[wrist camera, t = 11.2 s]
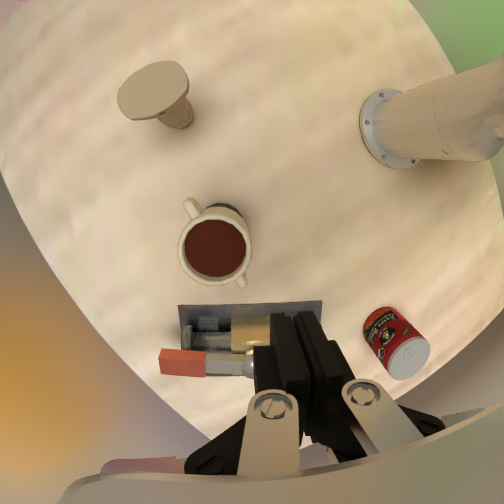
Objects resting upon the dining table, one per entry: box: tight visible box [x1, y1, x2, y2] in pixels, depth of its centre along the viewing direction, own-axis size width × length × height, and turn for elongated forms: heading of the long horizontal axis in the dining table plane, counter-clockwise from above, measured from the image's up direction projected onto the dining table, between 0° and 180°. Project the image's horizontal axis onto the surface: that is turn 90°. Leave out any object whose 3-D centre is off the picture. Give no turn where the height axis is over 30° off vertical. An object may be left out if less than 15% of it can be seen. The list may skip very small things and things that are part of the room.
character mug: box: [178, 198, 252, 288], centre depth 32 cm, size 11×7×13 cm, turn 32°
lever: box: [158, 348, 254, 379], centre depth 35 cm, size 14×4×2 cm, turn 87°
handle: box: [117, 61, 194, 128], centre depth 27 cm, size 5×6×15 cm
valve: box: [178, 301, 323, 376], centre depth 41 cm, size 22×14×7 cm, turn 90°
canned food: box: [364, 308, 430, 380], centre depth 40 cm, size 8×8×11 cm
